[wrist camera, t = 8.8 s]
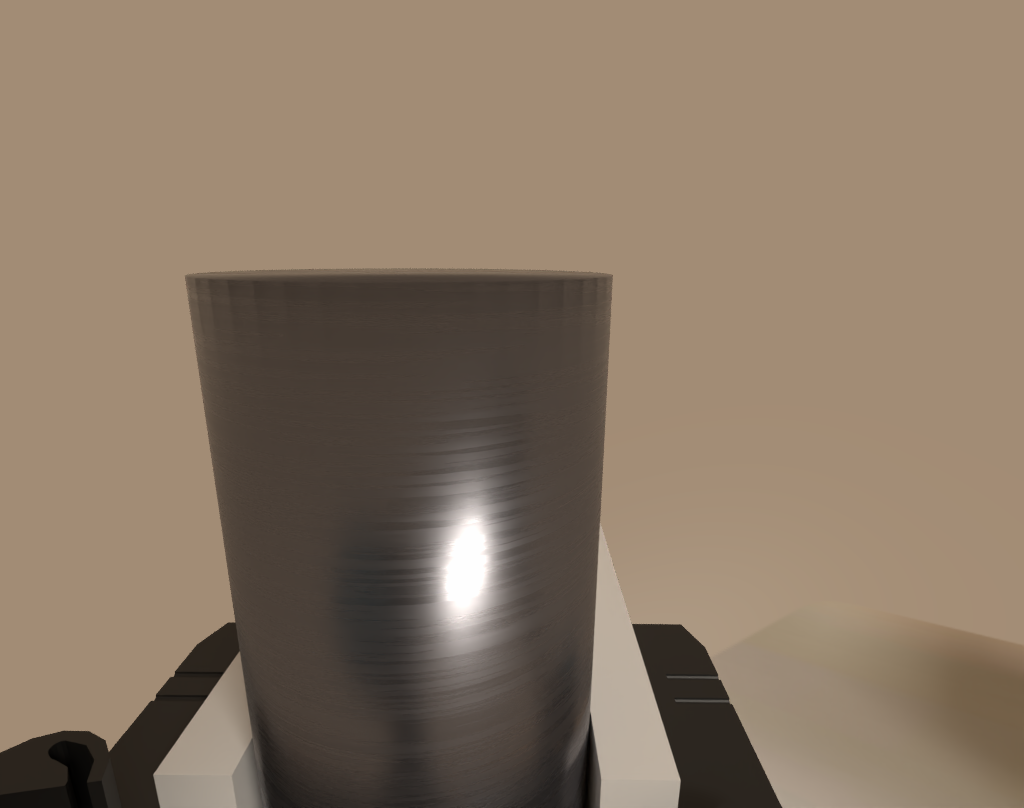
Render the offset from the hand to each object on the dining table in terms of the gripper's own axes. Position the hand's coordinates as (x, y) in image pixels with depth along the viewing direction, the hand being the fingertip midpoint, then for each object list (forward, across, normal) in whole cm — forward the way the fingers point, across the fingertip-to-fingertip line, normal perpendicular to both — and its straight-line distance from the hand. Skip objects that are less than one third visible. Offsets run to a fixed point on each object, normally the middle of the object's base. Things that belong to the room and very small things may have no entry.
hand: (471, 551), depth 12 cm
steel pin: (-5, 0, -8) cm, 10 cm away
